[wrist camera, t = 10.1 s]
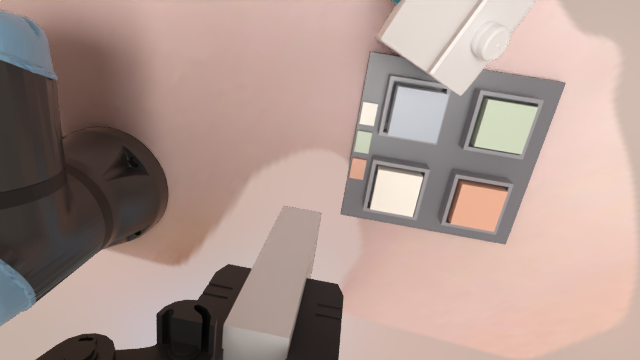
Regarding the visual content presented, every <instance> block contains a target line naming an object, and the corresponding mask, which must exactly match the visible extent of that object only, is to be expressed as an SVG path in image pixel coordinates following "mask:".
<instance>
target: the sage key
mask: <svg viewBox="0 0 640 360" xmlns="http://www.w3.org/2000/svg"><path fill="white" fill-rule="evenodd" d="M537 109H538V107H535V106H532V105H529V104H525V103H519V102H513V101H506V100H500V99H494V98H488V97H483V99H482V102H481V105H480V109H479V112H478V115H477V119H476V122H475V125H474V129H473V132H472V135H471V139H470V143H471V144H472V145H473V146H474V147H480V148H486V149H492V150H498V151H504V152H510V153H516V154H522V152H523V149H524V146H525V143H526V140H527V138H528V135H529V132H530V129H531V126H532V124H533V121H534V118H535V115H536V112H537Z"/></svg>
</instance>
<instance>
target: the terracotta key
mask: <svg viewBox="0 0 640 360" xmlns="http://www.w3.org/2000/svg"><path fill="white" fill-rule="evenodd" d="M507 194H508V192H507V191H506V190H505V188H504V187H503V186H499V185H494V184H488V183H482V182H476V181H471V180H465V179H458V182H457V185H456V189H455V192H454V195H453V199H452V202H451V205H450V209H449V212H448V215H447V218H448V220H449V222H450V224H453V225H459V226H464V227H470V228H475V229H481V230H486V231H492V232H494V230H495V228H496V225H497V222H498V219H499V216H500V214H501V211H502V208H503V205H504V202H505V199H506V197H507Z"/></svg>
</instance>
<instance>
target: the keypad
mask: <svg viewBox="0 0 640 360" xmlns="http://www.w3.org/2000/svg"><path fill="white" fill-rule="evenodd" d="M396 84H400V85H406V86H412V87H418V88H424V89H430V90H437V91H443V92H445V93H447V94H449V97H448V100H447V104H446V108H445V112H444V115H443V119H442V123H441V127H440V130H439V134H438V138H437V142H436V143H431V142H425V141H419V140H413V139H407V138H401V137H395V136H389V135H388V134H387V125H388V121H389V116H390V111H391V107H392V102H393V97H394V93H395V88H396ZM565 84H566V83H564V82H558V81H552V80H546V79H539V78H533V77H527V76H520V75H514V74H508V73H501V72H495V71H489V70H482V71H481V73H480V74H479V75H478V76H477V78H476V79H475V80H474V81H473V83H472V84H471V85H470V86H469V87H468V89H467V90H466V91H465V92H464V93H463V94H462V95H461V96H460V95H458V94H457V93H455V92H454V91H452V90H451V89H449V88H447V87H446V86H444V85H443V84H441V83H440V82H438V81H437V80H435V79H434V78H432V77H430V76H429V75H428V74H426V73H425V72H423V71H422V70H420V69H419V68H418V67H416V66H415V65H413V64H412V63H410V62H409V61H407V60H406V59H405V58H403V57H400V56H394V55H387V54H381V53H375V52H370V57H369V63H368V68H367V73H366V79H365V84H364V90H363V95H362V100H361V106H360V111H359V117H358V122H357V127H356V133H355V138H354V144H353V149H352V154H351V160H350V165H349V171H348V176H347V182H346V187H345V193H344V198H343V203H342V209H341V214H342V215H347V216H353V217H358V218H364V219H369V220H375V221H380V222H385V223H391V224H396V225H402V226H407V227H413V228H418V229H424V230H429V231H435V232H440V233H446V234H451V235H457V236H462V237H468V238H473V239H479V240H484V241H490V242H495V243H500V244H506V242H507V239H508V236H509V234H510V231H511V228H512V226H513V223H514V220H515V218H516V215H517V212H518V210H519V207H520V204H521V202H522V199H523V196H524V194H525V191H526V188H527V186H528V183H529V180H530V177H531V175H532V172H533V169H534V167H535V164H536V161H537V159H538V156H539V153H540V151H541V148H542V145H543V143H544V140H545V137H546V135H547V132H548V129H549V127H550V124H551V121H552V119H553V116H554V113H555V111H556V108H557V105H558V102H559V100H560V97H561V94H562V92H563V89H564V86H565ZM483 97H488V98H494V99H500V100H506V101H513V102H519V103H525V104H529V105H532V106H535V107H538V109H537V112H536V115H535V118H534V121H533V124H532V126H531V129H530V132H529V135H528V138H527V140H526V143H525V146H524V149H523V152H522V154H516V153H510V152H504V151H498V150H492V149H486V148H480V147H474V146H473V145H472V144H471V143H470V139H471V135H472V132H473V129H474V125H475V122H476V119H477V115H478V112H479V109H480V105H481V102H482V99H483ZM378 164H379V165H385V166H390V167H396V168H402V169H408V170H413V171H419V172H421V174H422V176H423V180H422V184H421V187H420V191H419V195H418V199H417V203H416V206H415V210H414V214H413V217H409V216H404V215H398V214H393V213H387V212H382V211H376V210H371V209H370V198H371V193H372V188H373V184H374V179H375V174H376V170H377V165H378ZM458 179H465V180H471V181H476V182H482V183H488V184H494V185H499V186H503V187H504V188H505V190H506V191H507V192H508V194H507V197H506V199H505V202H504V205H503V208H502V211H501V214H500V216H499V219H498V222H497V225H496V228H495V230H494V232H492V231H486V230H481V229H475V228H470V227H464V226H459V225H453V224H450V222H449V220H448V218H447V215H448V212H449V209H450V205H451V202H452V199H453V195H454V192H455V189H456V185H457V182H458Z"/></svg>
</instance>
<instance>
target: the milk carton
mask: <svg viewBox="0 0 640 360" xmlns="http://www.w3.org/2000/svg"><path fill="white" fill-rule="evenodd" d="M534 3H535V0H401V1H400V2H399V3H398V4H397V5H396V6H395V7H394V9H393V10H392V12H391V13H390V15H389V16H388V18H387V20H386V21H385V23H384V24H383V26H382V27H381V29H380V30H379V32H378V34H377V35H376V39H377V40H379V41H380V42H382V43H383V44H384V45H386V46H387V47H389V48H390V49H392V50H393V51H395V52H396V53H397V54H399V55H400V56H402V57H403V58H405V59H406V60H407V61H409V62H410V63H412V64H413V65H415V66H416V67H418V68H419V69H420V70H422V71H423V72H425V73H426V74H428V75H429V76H430V77H432V78H434V79H435V80H437V81H438V82H440V83H441V84H443V85H444V86H446V87H447V88H449V89H451V90H452V91H454V92H455V93H457V94H458V95H460V96H461V95H462V94H463V93H464V92H465V91H466V90H467V89H468V87H469V86H470V85H471V84H472V83H473V81H474V80H475V79H476V78H477V76H478V75H479V74H480V73H481V71H482V70H483V69H484V67H485V66H486V65H487V64H488V62H489V61H493V60H495V59H496V58H498V57H499V56H500V55H501V54H502V53H503V51H504V50H505V49H506V47H507V45H508V43H509V41H510V37H511V34H512V32H513V31H514V30H515V28H516V27H517V26H518V25H519V23H520V22H521V21H522V20H523V18H524V17H525V16H526V14H527V13H528V12H529V11H530V9H531V8H532V6H533V5H534Z"/></svg>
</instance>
